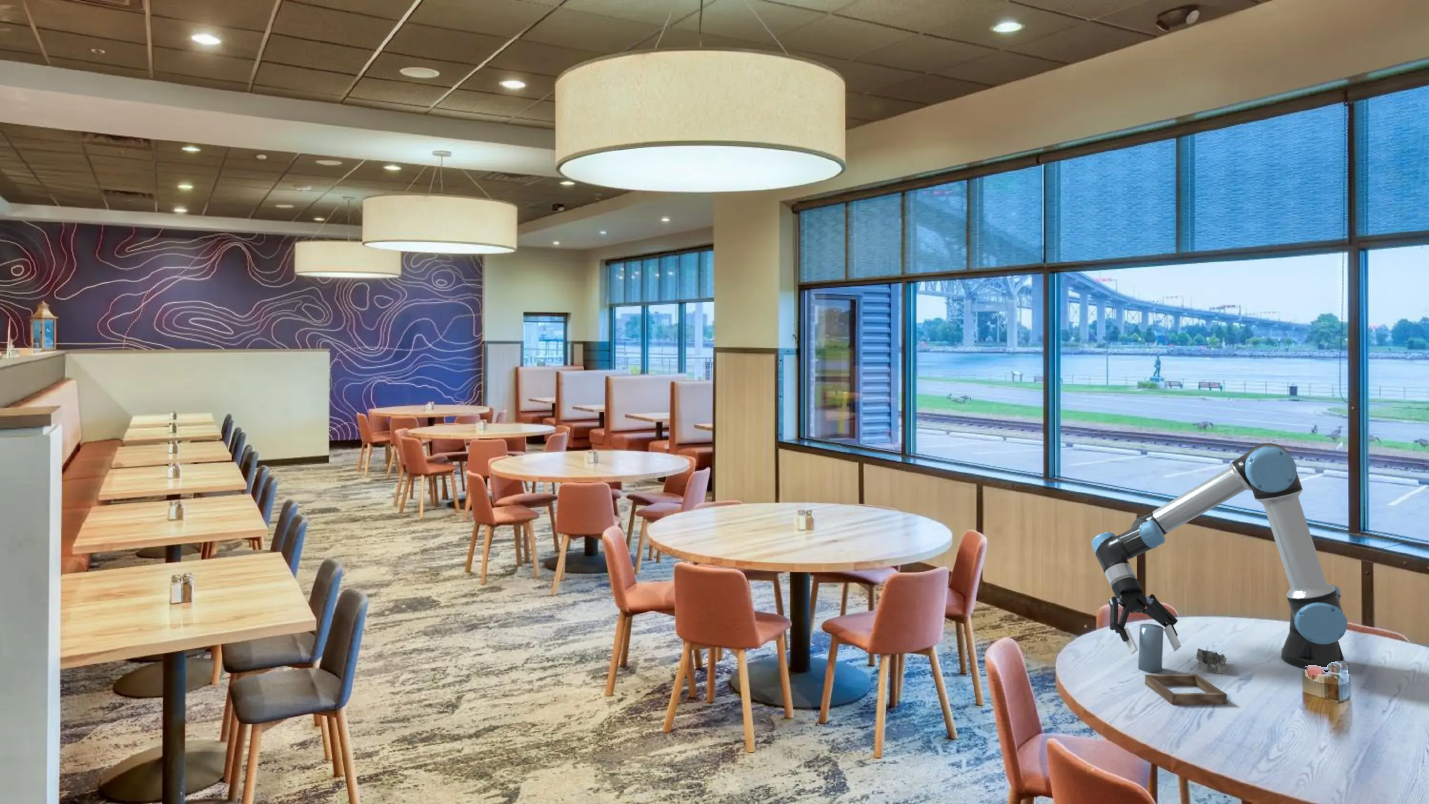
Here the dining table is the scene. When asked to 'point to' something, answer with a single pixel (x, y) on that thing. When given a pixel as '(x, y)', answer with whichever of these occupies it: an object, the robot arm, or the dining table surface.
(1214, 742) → the dining table surface
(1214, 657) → the egg carton
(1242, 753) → the dining table surface
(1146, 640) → the slate jar
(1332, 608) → the robot arm
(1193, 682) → the wooden square frame
